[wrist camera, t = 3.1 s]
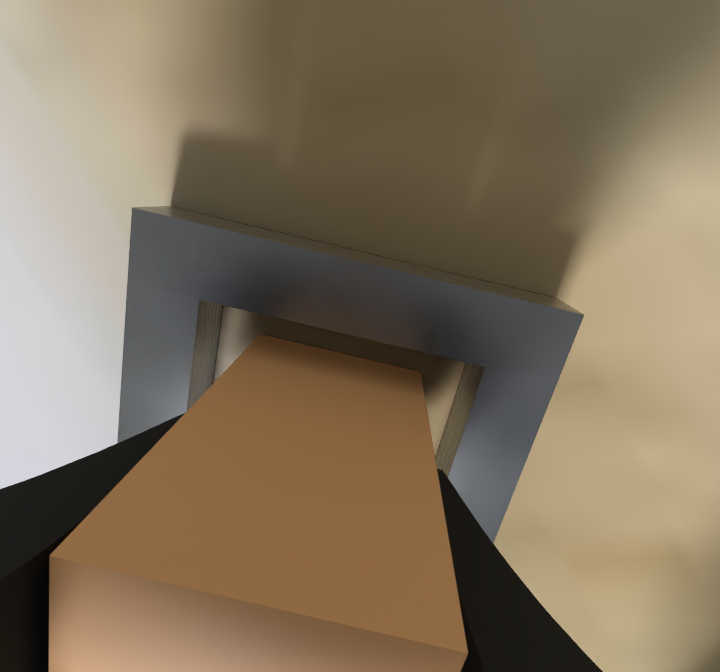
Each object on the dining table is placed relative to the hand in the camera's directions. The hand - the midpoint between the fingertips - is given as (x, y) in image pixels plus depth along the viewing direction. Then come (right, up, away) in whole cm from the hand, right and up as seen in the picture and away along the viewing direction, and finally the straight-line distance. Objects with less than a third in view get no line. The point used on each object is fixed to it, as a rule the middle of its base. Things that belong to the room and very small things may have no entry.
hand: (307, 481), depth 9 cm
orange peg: (0, +1, +2) cm, 2 cm away
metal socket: (0, +1, +2) cm, 2 cm away
